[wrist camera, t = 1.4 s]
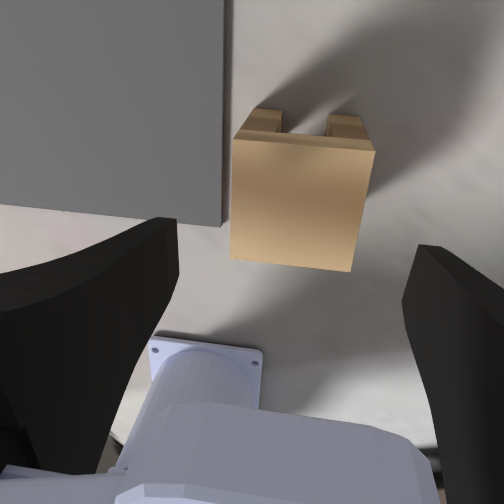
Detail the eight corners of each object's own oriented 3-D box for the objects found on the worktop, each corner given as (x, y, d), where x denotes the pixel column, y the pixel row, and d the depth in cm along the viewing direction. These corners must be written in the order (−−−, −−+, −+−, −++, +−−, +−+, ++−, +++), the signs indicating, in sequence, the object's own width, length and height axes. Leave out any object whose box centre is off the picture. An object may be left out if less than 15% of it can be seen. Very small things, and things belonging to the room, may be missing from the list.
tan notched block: (341, 212, 21) (350, 272, 16) (249, 202, 22) (229, 258, 17) (358, 115, 19) (375, 151, 14) (254, 107, 19) (232, 139, 14)
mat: (222, 224, 23) (220, 227, 22) (-7, 200, 24) (-11, 202, 24) (226, -95, 16) (224, -97, 15) (-98, -105, 17) (-107, -108, 17)
